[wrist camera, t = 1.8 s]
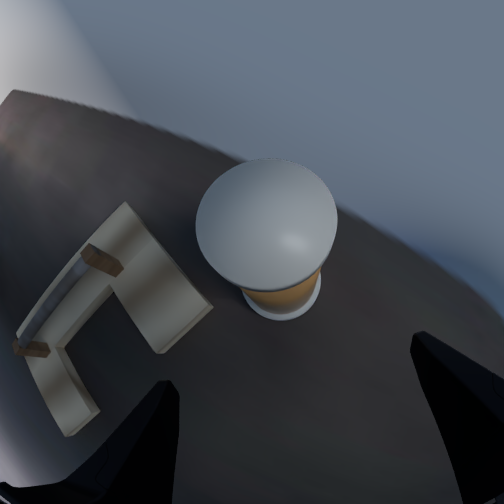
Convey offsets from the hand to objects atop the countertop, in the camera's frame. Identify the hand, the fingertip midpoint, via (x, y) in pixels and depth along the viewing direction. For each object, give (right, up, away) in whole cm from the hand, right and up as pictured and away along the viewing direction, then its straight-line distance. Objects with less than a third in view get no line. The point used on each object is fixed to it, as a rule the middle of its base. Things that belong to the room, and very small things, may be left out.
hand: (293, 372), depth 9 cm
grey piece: (-17, -3, +15) cm, 23 cm away
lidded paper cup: (+1, +2, +13) cm, 14 cm away
